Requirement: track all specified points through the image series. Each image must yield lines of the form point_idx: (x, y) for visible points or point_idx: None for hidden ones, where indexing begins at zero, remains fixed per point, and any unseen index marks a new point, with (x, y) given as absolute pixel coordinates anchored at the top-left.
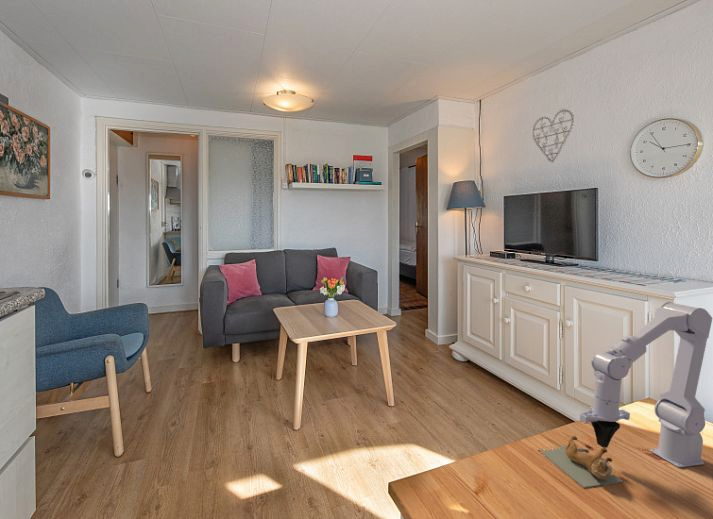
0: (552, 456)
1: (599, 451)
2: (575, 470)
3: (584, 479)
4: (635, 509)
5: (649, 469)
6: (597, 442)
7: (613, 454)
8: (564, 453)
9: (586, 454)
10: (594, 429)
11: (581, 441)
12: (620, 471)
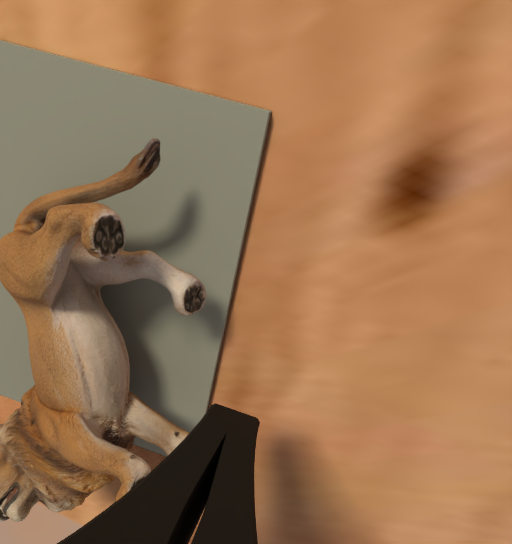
0: None
1: (102, 457)
2: (18, 308)
3: (10, 365)
4: (82, 516)
5: (493, 517)
6: (203, 417)
7: (484, 348)
8: (85, 167)
9: (51, 373)
10: (111, 511)
11: (463, 89)
12: (287, 431)
